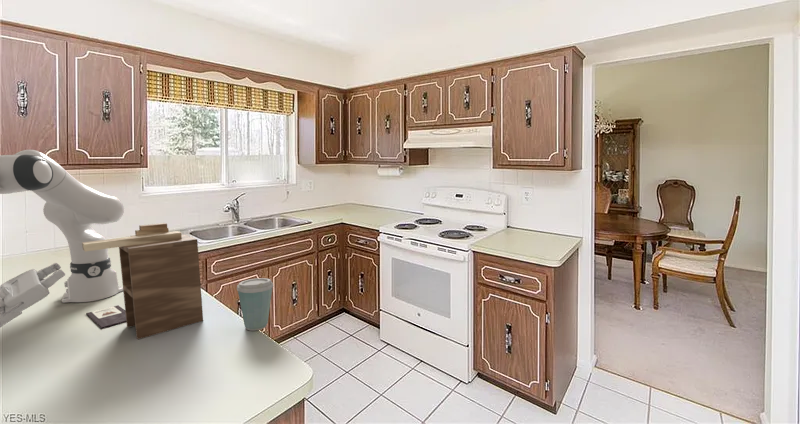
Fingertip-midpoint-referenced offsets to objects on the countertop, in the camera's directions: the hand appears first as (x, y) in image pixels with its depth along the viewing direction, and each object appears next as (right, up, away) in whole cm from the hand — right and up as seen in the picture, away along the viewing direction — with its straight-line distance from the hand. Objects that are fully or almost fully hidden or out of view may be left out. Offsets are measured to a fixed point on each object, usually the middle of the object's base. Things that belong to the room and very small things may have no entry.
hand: (61, 268), depth 101 cm
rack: (+16, -21, +20) cm, 33 cm away
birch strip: (+12, +6, +12) cm, 18 cm away
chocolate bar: (-6, -21, +25) cm, 33 cm away
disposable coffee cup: (+46, -21, +17) cm, 54 cm away
